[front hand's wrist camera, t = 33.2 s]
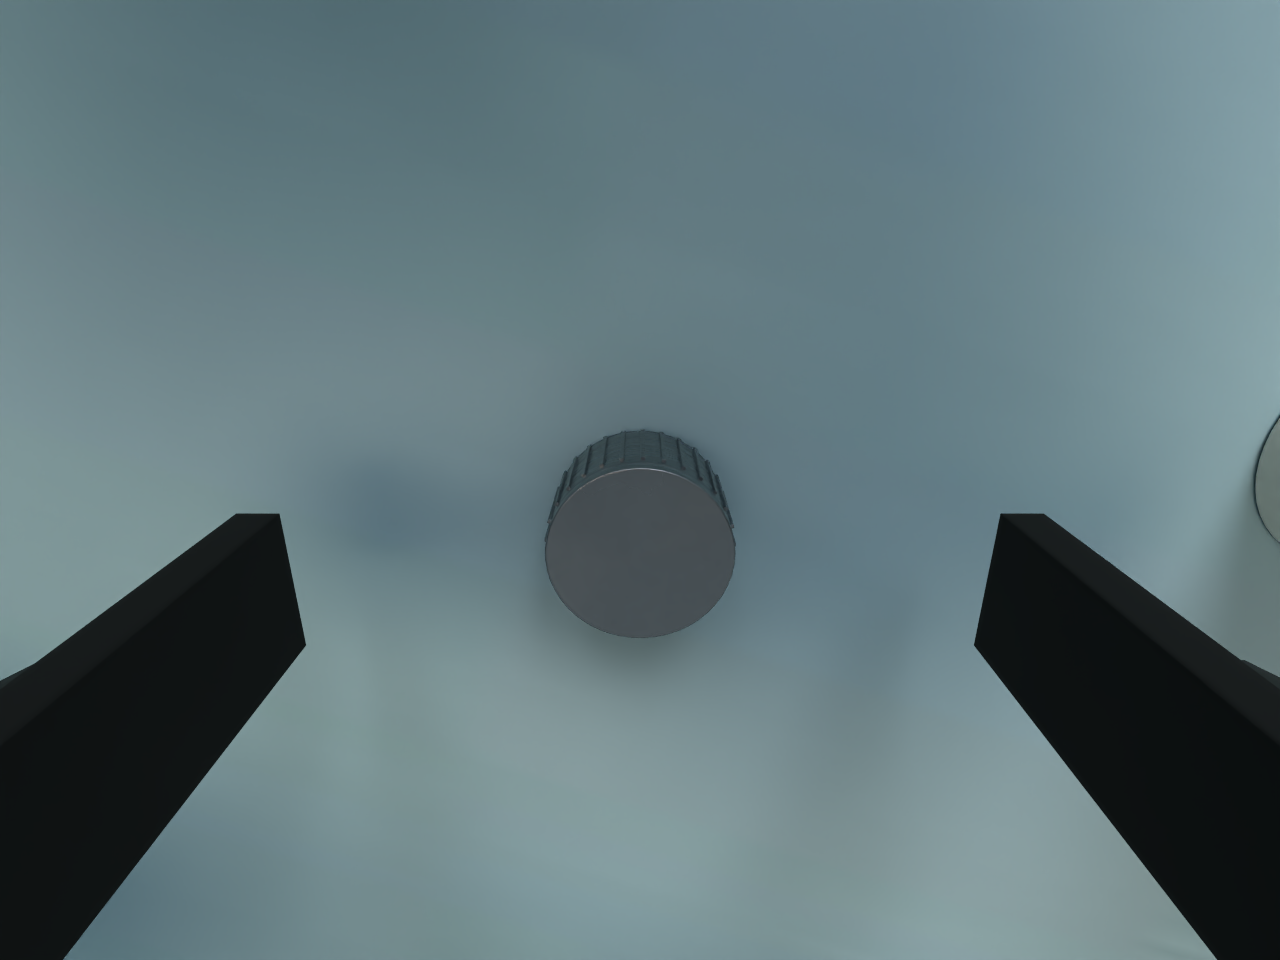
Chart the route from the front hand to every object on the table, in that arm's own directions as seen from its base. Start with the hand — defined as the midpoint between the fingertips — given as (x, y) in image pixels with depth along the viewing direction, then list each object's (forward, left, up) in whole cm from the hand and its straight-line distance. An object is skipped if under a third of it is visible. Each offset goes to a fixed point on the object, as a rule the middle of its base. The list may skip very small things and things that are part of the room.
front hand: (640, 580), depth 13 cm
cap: (0, 0, -1) cm, 1 cm away
